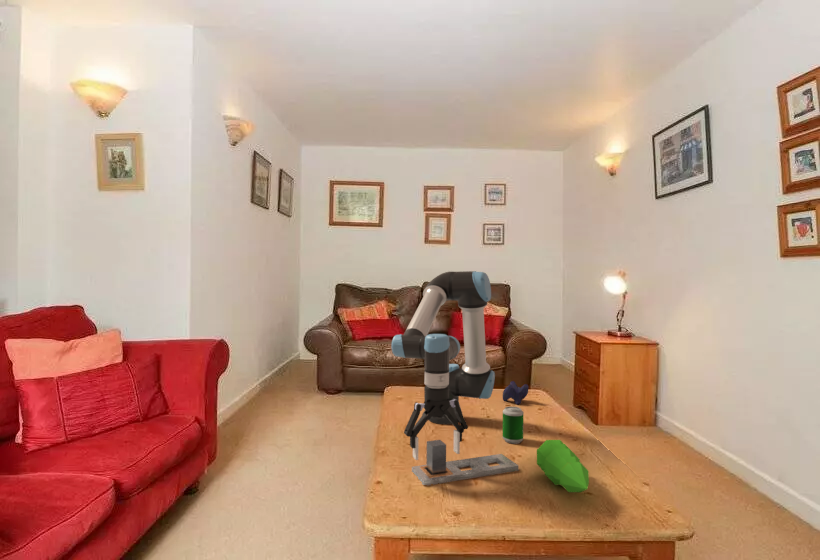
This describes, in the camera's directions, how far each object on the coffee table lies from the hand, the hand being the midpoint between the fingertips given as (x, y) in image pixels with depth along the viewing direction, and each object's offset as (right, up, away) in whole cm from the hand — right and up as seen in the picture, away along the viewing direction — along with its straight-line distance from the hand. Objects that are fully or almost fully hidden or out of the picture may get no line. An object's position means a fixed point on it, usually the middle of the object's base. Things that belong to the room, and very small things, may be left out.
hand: (436, 455), depth 134 cm
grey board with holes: (+9, -6, +3) cm, 12 cm away
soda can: (+30, -7, +30) cm, 43 cm away
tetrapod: (+44, -7, +83) cm, 94 cm away
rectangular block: (0, -6, 0) cm, 6 cm away
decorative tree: (+36, -7, -6) cm, 37 cm away
